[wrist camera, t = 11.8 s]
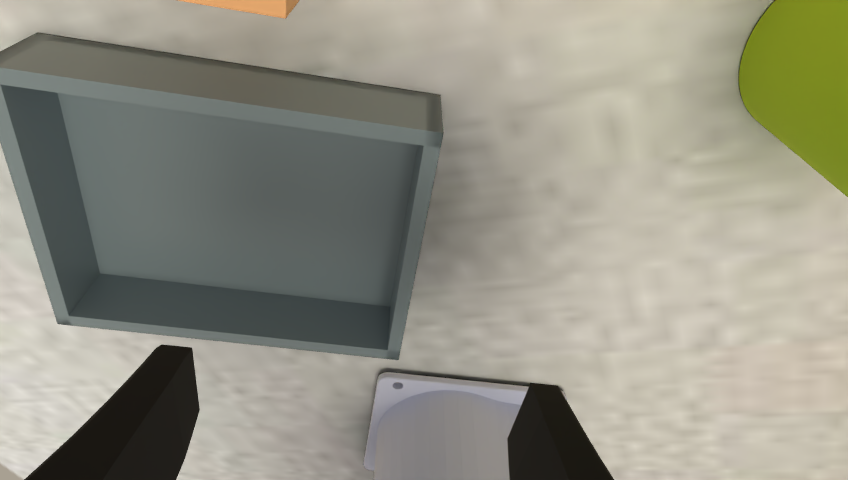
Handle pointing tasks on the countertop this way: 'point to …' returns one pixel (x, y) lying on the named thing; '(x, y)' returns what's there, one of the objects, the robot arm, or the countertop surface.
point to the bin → (218, 195)
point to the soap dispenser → (802, 81)
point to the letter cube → (253, 6)
